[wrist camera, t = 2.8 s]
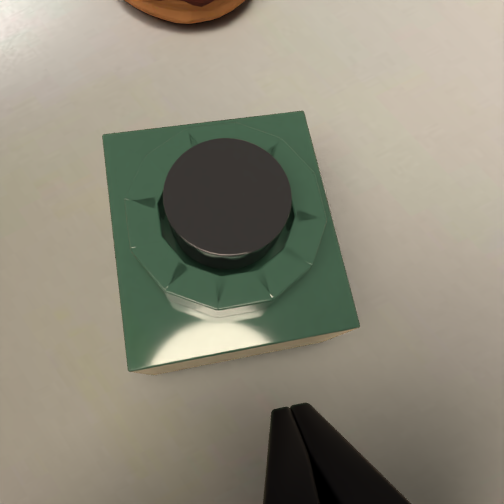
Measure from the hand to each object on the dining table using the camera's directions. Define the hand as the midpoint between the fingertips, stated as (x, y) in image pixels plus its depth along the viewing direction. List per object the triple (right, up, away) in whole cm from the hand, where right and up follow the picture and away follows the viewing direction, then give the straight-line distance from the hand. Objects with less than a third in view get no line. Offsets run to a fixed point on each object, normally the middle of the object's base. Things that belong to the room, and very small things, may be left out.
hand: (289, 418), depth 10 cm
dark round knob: (-2, +5, +7) cm, 9 cm away
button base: (-2, +3, +14) cm, 14 cm away
